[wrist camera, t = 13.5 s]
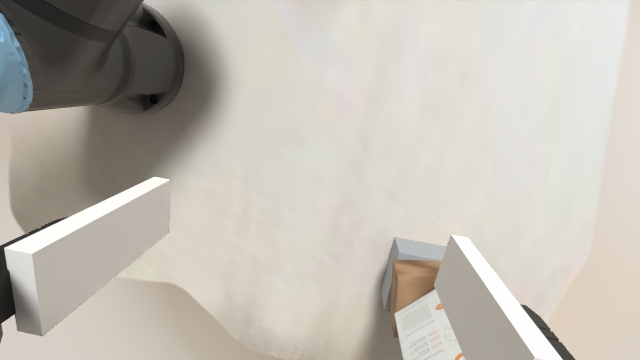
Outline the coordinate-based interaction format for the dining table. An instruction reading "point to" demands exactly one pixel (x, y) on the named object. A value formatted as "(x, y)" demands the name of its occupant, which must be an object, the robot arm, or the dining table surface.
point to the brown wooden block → (410, 283)
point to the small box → (426, 331)
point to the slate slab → (408, 251)
